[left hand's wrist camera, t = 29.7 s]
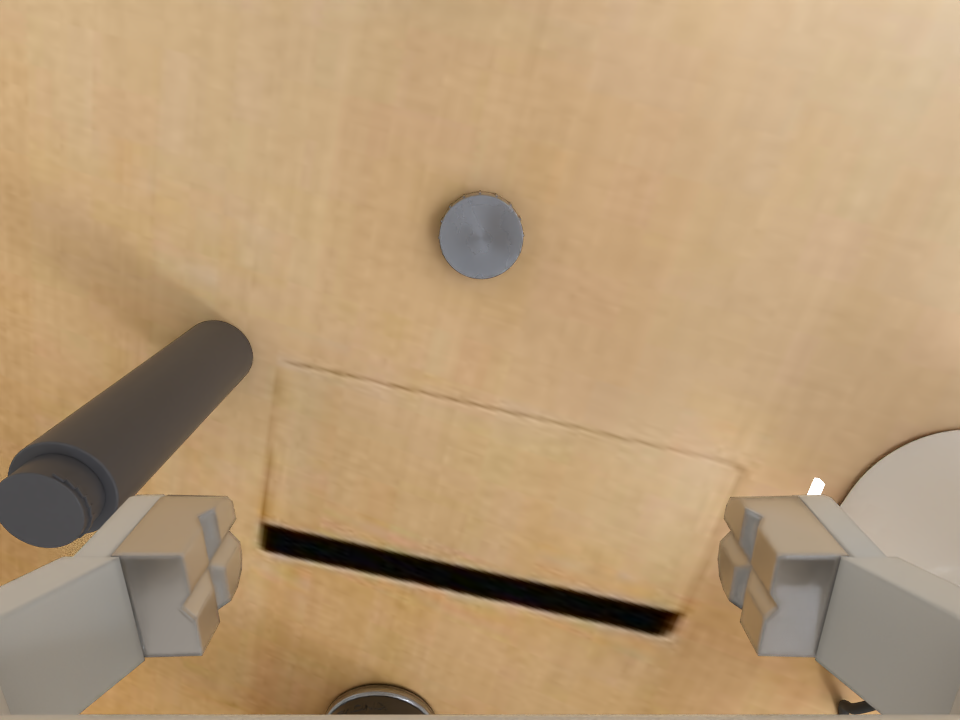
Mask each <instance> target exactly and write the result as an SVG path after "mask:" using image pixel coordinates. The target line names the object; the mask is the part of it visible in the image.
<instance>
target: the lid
mask: <svg viewBox="0 0 960 720" xmlns="http://www.w3.org/2000/svg"><path fill="white" fill-rule="evenodd" d="M520 220H521V218H520V216H518V215H517V213H516V211H515V210H514V208H513V207H512V205H511V203H510V202H509V203H508V202H507V201H506V200H505V199H503V198H502V197H500V196H498V195H497V193H495V194H493V193H489V192H481V190H479V192H474V193H470V194H467V195H465V194H463V196H462V197H461V198H459V199H458V200H456V201H455V202H454V203H453V204H450V206H449V209H448V210H447V212H446V214H445V216H444V218H443V217H442V219H441V222H442V224H441V227H440V233H439V237H438V239H439V241H440V247H441V250H442V254H443V255H444V257H445V259H446V260H447V262H448V263H449V264H450V266H451V267H452V268H454V269H455V270H456V271H457V272H459V273H460V274H462V275H464V276H467V277H470V278H474V279H488V278H492V277H496V276H498V275H500V274H502V273H504V272H505V271H506V270H508V269H509V268H510V267H511V266H512V265H513V264H514V262H515V261H516V260H517V258H518V256H519V254H520V253H521V248H522V244H523V237H524V233H523V230H522V225H521V222H520Z"/></svg>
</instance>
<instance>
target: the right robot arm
mask: <svg viewBox="0 0 960 720" xmlns="http://www.w3.org/2000/svg"><path fill="white" fill-rule="evenodd" d="M326 715H434V713H433V711H432V709H431V708H430V707H429V705H428V704H427V703H426V702H425V701H423V700H422V699H421V698H420V697H418V696H417V695H415V694H413V693H411V692H409V691H407V690H404V689H401V688H398V687H393V686H387V685H368V686H362V687H358V688H355V689H352V690H350V691H347V692H345V693H344V694H342V695H341V696H339V697H338V698H337V699H335V700H334V702H333V703H332V704H331V705H330V707H329V708H328V710H327V712H326Z"/></svg>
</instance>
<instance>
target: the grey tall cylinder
mask: <svg viewBox="0 0 960 720" xmlns="http://www.w3.org/2000/svg"><path fill="white" fill-rule="evenodd" d="M252 359H253V355H252V349H251V346H250V344H249V342H248V340H247V338H246V337H245V336H244V334H243V333H242V332H241V331H239V330H238V329H237V328H236V327H234V326H232V325H230V324H228V323H225V322H222V321H205V322H202V323H199V324H197V325H195V326H194V327H193V328H191V329H190V330H188V331H187V332H186V333H184V334H183V335H182V336H180V337H179V338H177V339H176V340H175V341H173V342H172V343H170V344H169V345H168V346H166V347H165V348H163V349H162V350H161V351H159V352H158V353H156V354H155V355H154V356H152V357H151V358H149V359H148V360H147V361H145V362H144V363H142V364H141V365H140V366H138V367H137V368H135V369H134V370H133V371H131V372H130V373H128V374H127V375H126V376H124V377H123V378H121V379H120V380H119V381H117V382H116V383H114V384H113V385H112V386H110V387H109V388H107V389H106V390H105V391H103V392H102V393H100V394H99V395H98V396H96V397H95V398H93V399H92V400H91V401H89V402H88V403H86V404H85V405H84V406H82V407H81V408H79V409H78V410H77V411H75V412H74V413H73V414H71V415H70V416H68V417H67V418H66V419H64V420H63V421H61V422H60V423H59V424H57V425H56V426H54V427H53V428H52V429H50V430H49V431H47V432H46V433H45V434H43V435H42V436H40V437H39V438H38V439H36V440H35V441H33V442H32V443H31V444H29V445H28V446H26V447H25V448H24V449H22V450H21V451H20V452H19V453H18V454H17V455H16V456H15V457H14V459H13V460H12V462H11V465H10V467H9V472H8V477H7V478H5V479H4V480H3V481H2V482H1V483H0V523H1V524H2V525H3V527H4V528H5V529H6V530H7V531H8V532H10V533H11V534H12V535H13V536H15V537H16V538H18V539H19V540H21V541H23V542H25V543H28V544H31V545H33V546H38V547H44V548H56V547H61V546H64V545H67V544H69V543H71V542H73V541H74V540H76V539H77V538H81V537H82V536H83V535H84V534H86V533H91V532H94V531H97V530H99V529H100V528H101V527H102V526H103V525H104V523H105V522H106V521H107V520H108V519H109V518H110V517H111V516H112V515H113V514H114V513H115V512H116V511H117V510H118V509H119V508H120V507H121V505H122V504H123V503H124V502H125V501H126V500H127V499H128V498H129V497H132V496H134V495H135V494H136V493H137V492H138V491H139V490H140V489H141V488H142V487H143V486H144V485H145V484H146V482H147V481H148V480H149V479H150V478H151V477H152V476H153V475H154V474H155V473H156V472H157V471H158V470H159V468H160V467H161V466H162V465H163V464H164V463H165V462H166V461H167V460H168V459H169V458H170V457H171V455H172V454H173V453H174V452H175V451H176V450H177V449H178V448H179V447H180V446H181V445H182V444H183V442H184V441H185V440H186V439H187V438H188V437H189V436H190V435H191V434H192V433H193V432H194V431H195V430H196V428H197V427H198V426H199V425H200V424H201V423H202V422H203V421H204V420H205V419H206V418H207V417H208V415H209V414H210V413H211V412H212V411H213V410H214V409H215V408H216V407H217V406H218V405H219V404H220V403H221V401H222V400H223V399H224V398H225V397H226V396H227V395H228V394H229V393H230V392H231V391H232V390H233V388H234V387H235V386H236V385H237V384H238V383H239V382H240V381H241V380H242V379H243V378H244V377H245V376H246V374H247V373H248V372H249V370H250V368H251V365H252Z"/></svg>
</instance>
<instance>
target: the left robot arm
mask: <svg viewBox="0 0 960 720" xmlns="http://www.w3.org/2000/svg"><path fill="white" fill-rule="evenodd" d="M824 485H825V484H824V483H823V482H822V481H821V480H820V479H818V478H814V481H813V483H812V485H811V488H810V490H809V492H808V495H792V496H758V497H730V499H729V501H728V503H727V505H726V509H725V515H724V520H725V522H726V523H727V525H728V527H729V528H730V530H731V531H730V532H729V533H728V534H727V535H726V536H725V537H724V538H723V539H722V540H721V541H720V545H719V553H718V568H719V577H720V580H721V584H722V587H723V590H724V592H725V594H726V596H727V598H728V600H729V601H730V602H732V603H733V604H735V605H736V606H737V607H739V608H740V609H742V613H741V619H740V623H741V625H742V627H743V629H744V631H745V632H746V634H747V636H748V638H749V640H750V642H751V644H752V646H753V647H754V649H755V651H756V653H757V655H758V656H785V657H816V658H815V660H816V661H817V662H818V663H819V664H821V665H822V666H823V667H824V668H825V669H827V670H828V671H829V672H830V673H832V674H833V675H834V676H835V677H836V678H838V679H839V680H840V681H841V682H843V683H844V684H845V685H846V686H847V687H849V688H850V689H851V690H852V691H854V692H855V693H856V694H857V695H859V696H860V697H861V698H862V699H863V700H865V701H862V702H858V703H850V702H849V701H846V700H842V701H840V703H839V706H838V711H839V715H78V714H80V713H81V712H82V711H83V710H85V709H86V708H87V707H88V706H89V705H91V704H92V703H93V702H94V701H96V700H97V699H98V698H99V697H100V696H102V695H103V694H104V693H105V692H107V691H108V690H109V689H110V688H112V687H113V686H114V685H115V684H116V683H118V682H119V681H120V680H121V679H123V678H124V677H125V676H126V675H127V674H129V673H130V672H131V671H132V670H134V669H135V668H136V667H137V666H138V665H140V664H141V663H142V662H143V661H145V658H144V657H174V656H202V655H203V653H204V651H205V650H206V648H207V646H208V644H209V642H210V640H211V638H212V636H213V634H214V632H215V631H216V629H217V627H218V625H219V623H220V619H219V613H218V609H220V608H221V607H223V606H224V605H226V604H227V603H228V602H230V601H231V600H232V598H233V596H234V594H235V592H236V590H237V588H238V584H239V579H240V575H241V571H242V551H241V545H240V541H239V540H238V539H237V538H236V537H235V536H234V535H233V534H232V533H231V532H230V531H229V530H230V528H231V527H232V525H233V523H234V522H235V520H236V515H235V510H234V506H233V501H232V500H231V499H230V498H229V497H227V496H197V495H167V496H166V495H135V496H132V497H129V498H128V499H127V500H126V501H125V502H124V503H123V504H122V505H121V507H120V508H119V509H118V510H117V511H116V512H115V513H114V514H113V515H112V516H111V517H110V518H109V519H108V520H107V521H106V522H105V523H104V525H103V526H102V527H101V528H100V529H99V530H98V531H97V532H96V533H95V534H94V535H93V536H92V537H91V538H90V539H89V540H88V541H87V543H86V544H85V545H84V546H83V547H82V548H81V549H80V550H79V551H78V552H77V553H76V554H75V555H74V556H73V557H61V558H59V559H57V560H55V561H53V562H51V563H49V564H46V565H44V566H42V567H40V568H38V569H36V570H34V571H32V572H30V573H28V574H25V575H23V576H21V577H19V578H17V579H15V580H13V581H11V582H9V583H7V584H4V585H2V586H0V720H960V430H952V431H946V432H941V433H936V434H932V435H929V436H926V437H923V438H920V439H917V440H915V441H912V442H910V443H908V444H906V445H904V446H902V447H900V448H898V449H896V450H895V451H893V452H891V453H890V454H888V455H887V456H885V457H884V458H882V459H881V460H880V461H878V462H877V463H876V464H875V465H873V466H872V467H871V468H870V469H869V470H868V471H867V472H866V473H865V474H864V475H863V476H862V477H861V478H860V479H859V480H858V482H857V483H856V484H855V485H854V487H853V488H852V489H851V491H850V492H849V494H848V495H847V497H846V498H845V500H844V501H843V503H842V504H841V505H840V506H839V505H838V504H837V503H836V502H835V501H834V500H833V499H832V498H831V497H828V496H826V495H824V494H821V492H822V489H823V487H824ZM874 710H877V711H878V712H879V713H881V714H882V715H849V713H851V714H862V713H867V712H871V711H874Z"/></svg>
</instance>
